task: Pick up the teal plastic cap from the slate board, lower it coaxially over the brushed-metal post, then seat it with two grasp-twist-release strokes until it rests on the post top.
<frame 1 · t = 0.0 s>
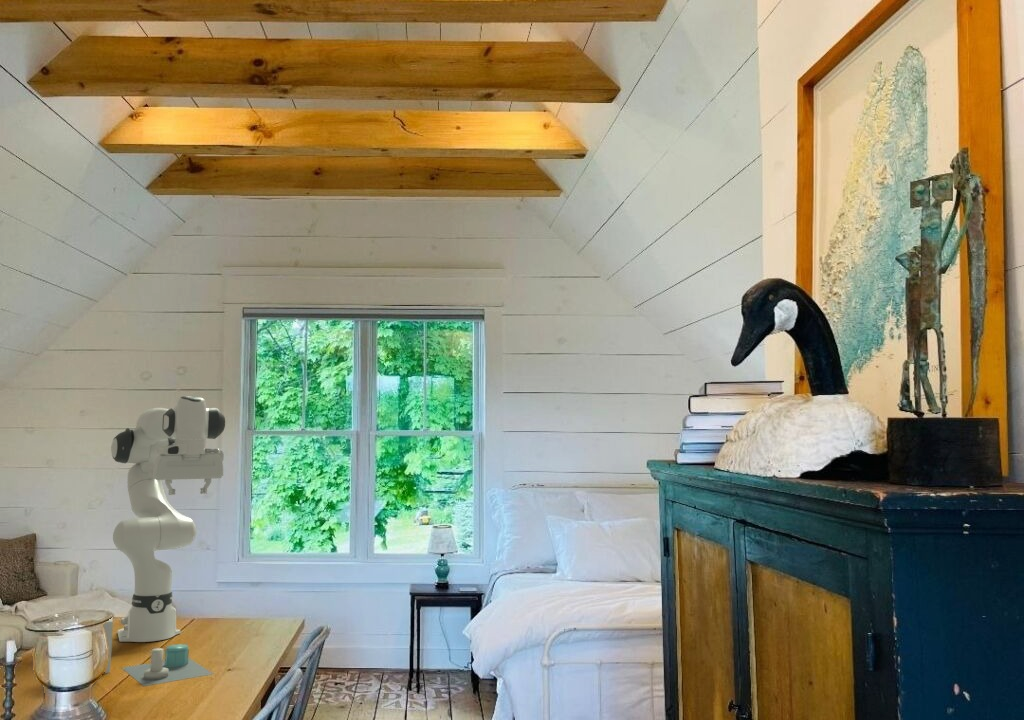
hand: (187, 494, 246), 48 cm above the table, fingers open, 8 cm apart
cap: (176, 664, 228), point 1 cm above the table, touching post board
supplement box: (91, 675, 222), on the table
post board: (166, 675, 222), on the table
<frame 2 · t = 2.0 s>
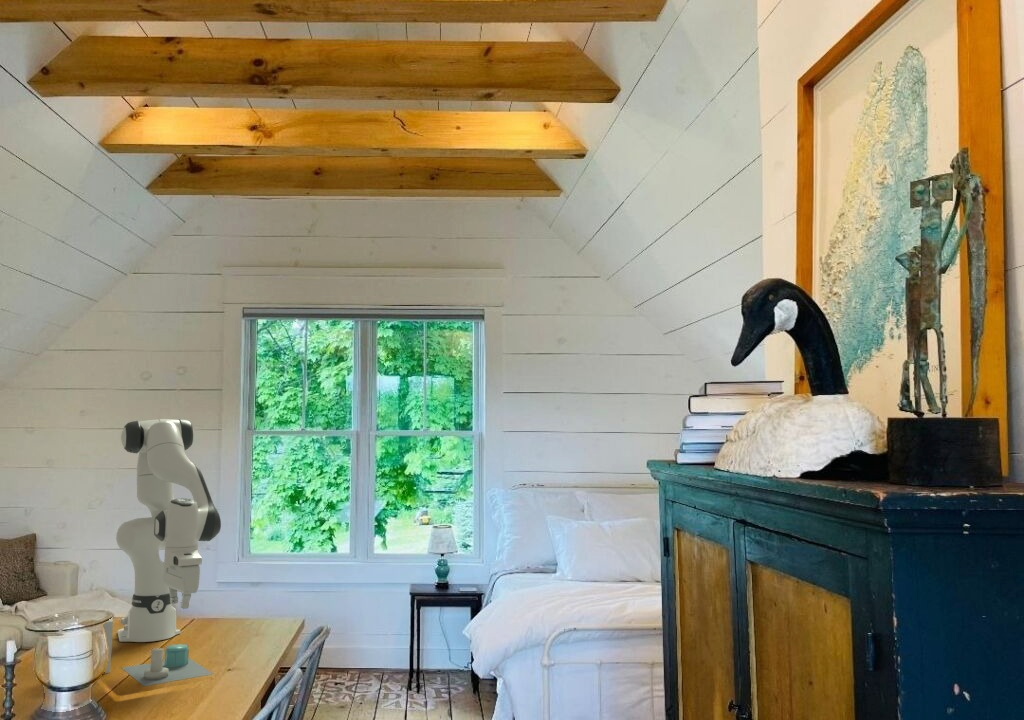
hand: (179, 605, 230), 17 cm above the table, fingers open, 8 cm apart
nothing on the table moved.
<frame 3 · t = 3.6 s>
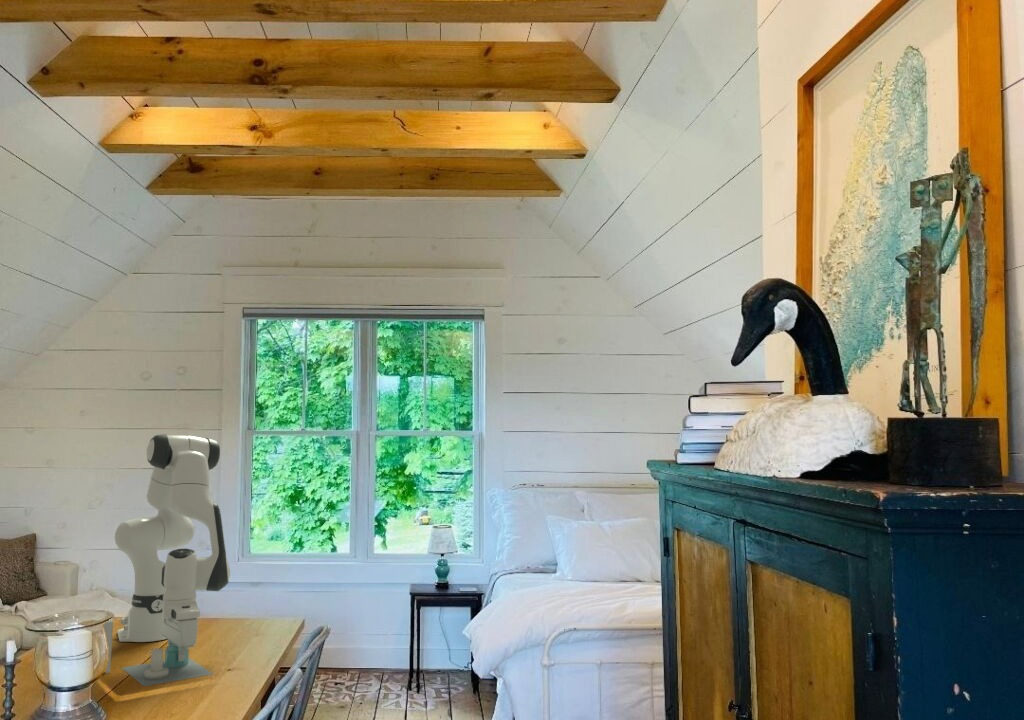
hand: (176, 658, 229), 3 cm above the table, fingers closed on cap, 6 cm apart
cap: (176, 664, 228), point 1 cm above the table, touching gripper, post board
everything else where it was.
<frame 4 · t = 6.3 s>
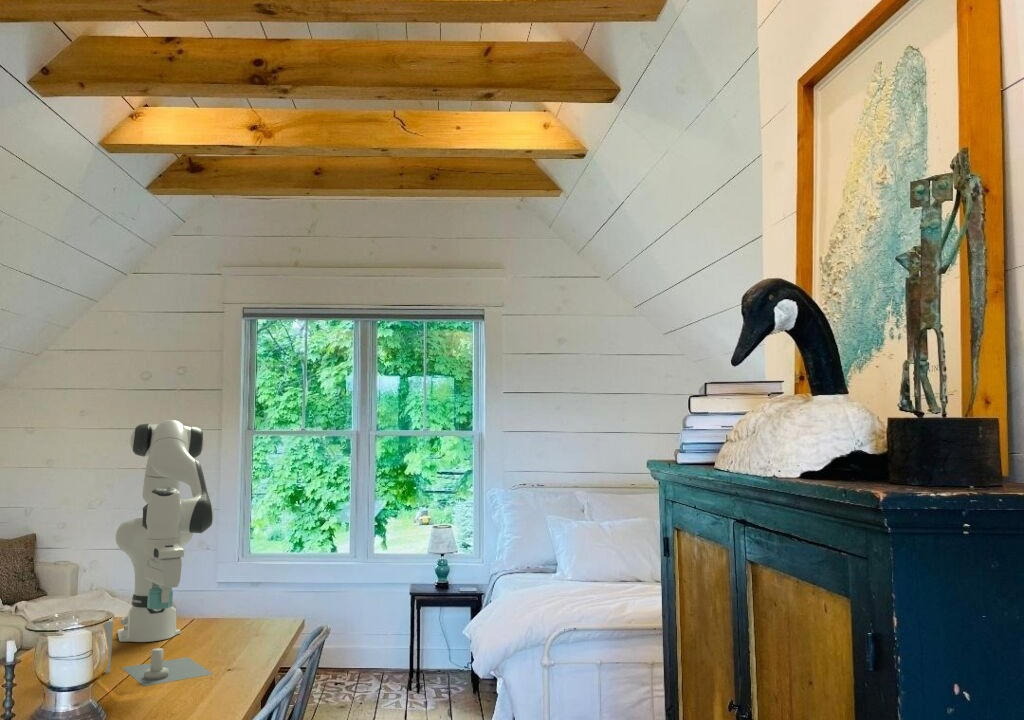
hand: (160, 600, 219), 21 cm above the table, fingers closed on cap, 6 cm apart
cap: (159, 606, 218), point 19 cm above the table, touching gripper
everything else where it was.
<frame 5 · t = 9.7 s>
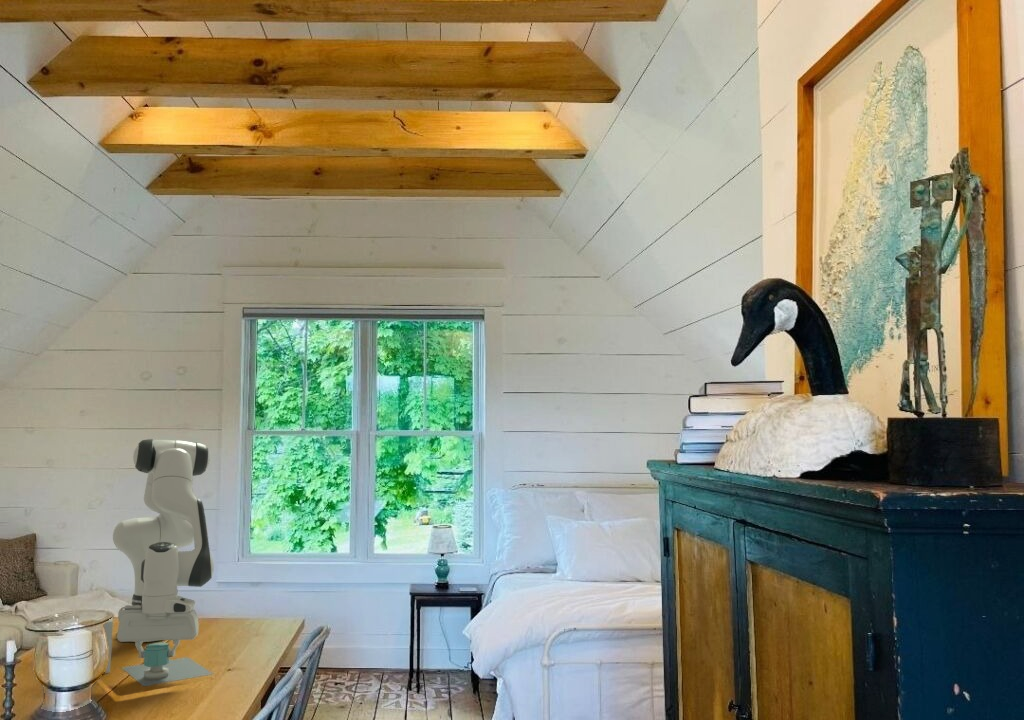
hand: (157, 657, 217), 6 cm above the table, fingers closed on cap, 6 cm apart
cap: (156, 663, 217), point 5 cm above the table, touching gripper
everything else where it was.
when the fingers open (6 cm above the table, at t = 9.7 s): cap stays where it is, resting on post board.
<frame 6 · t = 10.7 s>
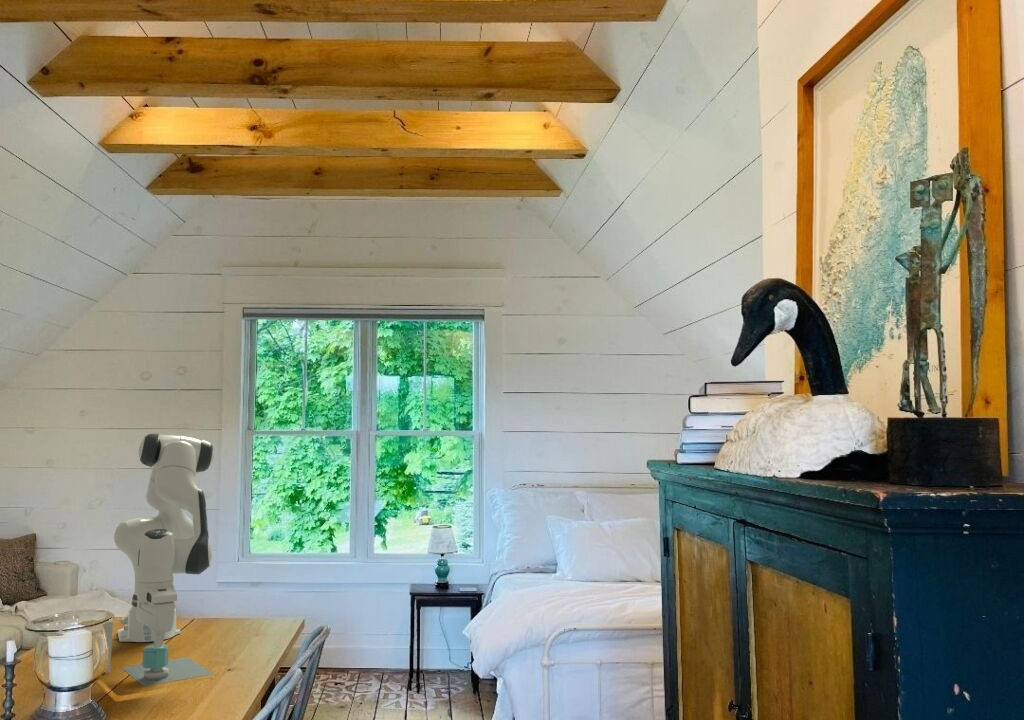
hand: (152, 643, 217), 10 cm above the table, fingers open, 8 cm apart
cap: (155, 665, 217), point 4 cm above the table, touching post board
everything else where it was.
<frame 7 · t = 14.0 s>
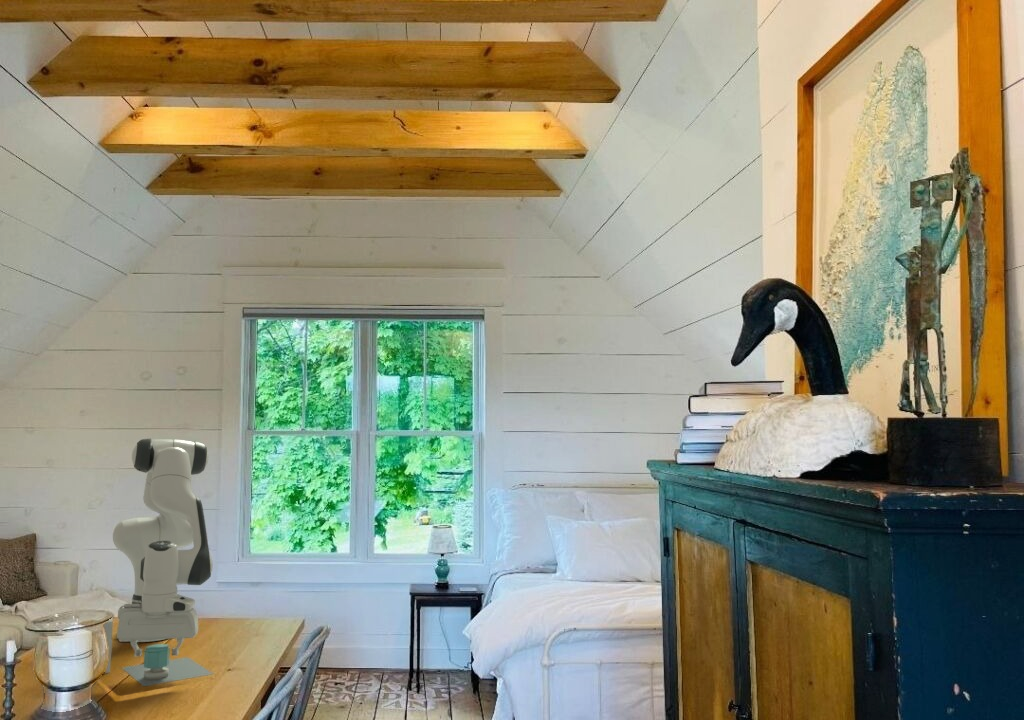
hand: (156, 655, 217), 7 cm above the table, fingers open, 8 cm apart
nothing on the table moved.
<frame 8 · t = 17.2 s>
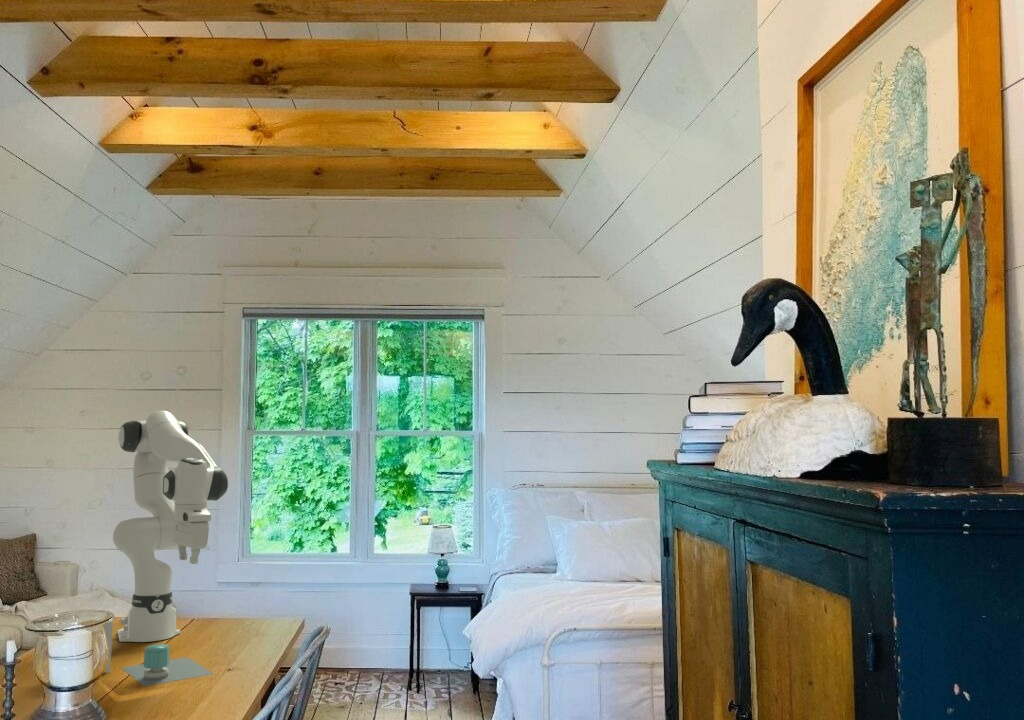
hand: (188, 561, 236), 29 cm above the table, fingers open, 8 cm apart
nothing on the table moved.
at the end: cap 0.2 cm from the target spot on the post board, point 4.2 cm above the post board's base; cap tilted 0°; the gripper is holding nothing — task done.
